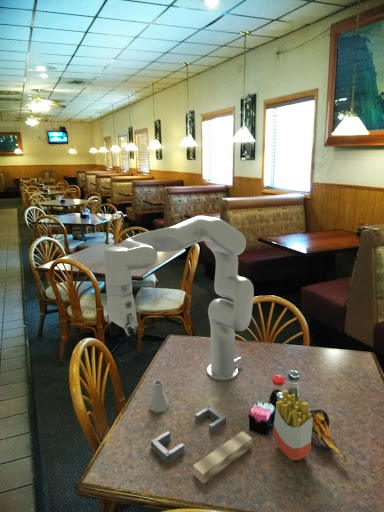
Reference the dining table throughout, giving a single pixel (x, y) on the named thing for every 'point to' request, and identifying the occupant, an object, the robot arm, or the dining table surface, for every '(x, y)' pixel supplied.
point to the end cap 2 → (215, 415)
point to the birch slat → (222, 456)
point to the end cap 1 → (163, 452)
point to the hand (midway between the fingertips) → (122, 340)
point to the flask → (159, 398)
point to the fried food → (323, 431)
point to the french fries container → (293, 426)
